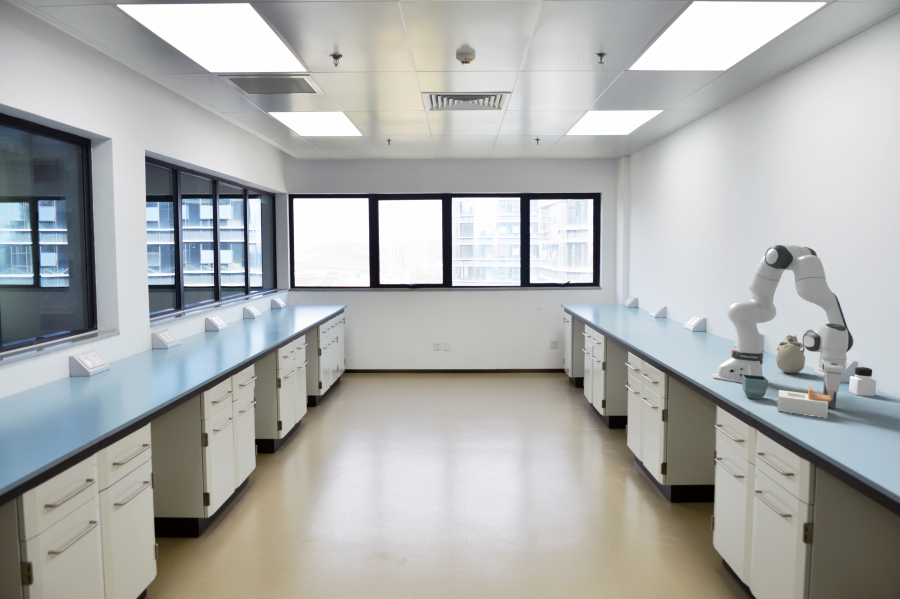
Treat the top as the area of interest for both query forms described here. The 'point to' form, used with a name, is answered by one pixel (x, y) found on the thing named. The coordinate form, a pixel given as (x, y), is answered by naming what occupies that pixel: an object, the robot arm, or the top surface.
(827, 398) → the shutter
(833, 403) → the plug
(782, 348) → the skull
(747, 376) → the flower pot
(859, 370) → the medicine bottle
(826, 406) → the socket
